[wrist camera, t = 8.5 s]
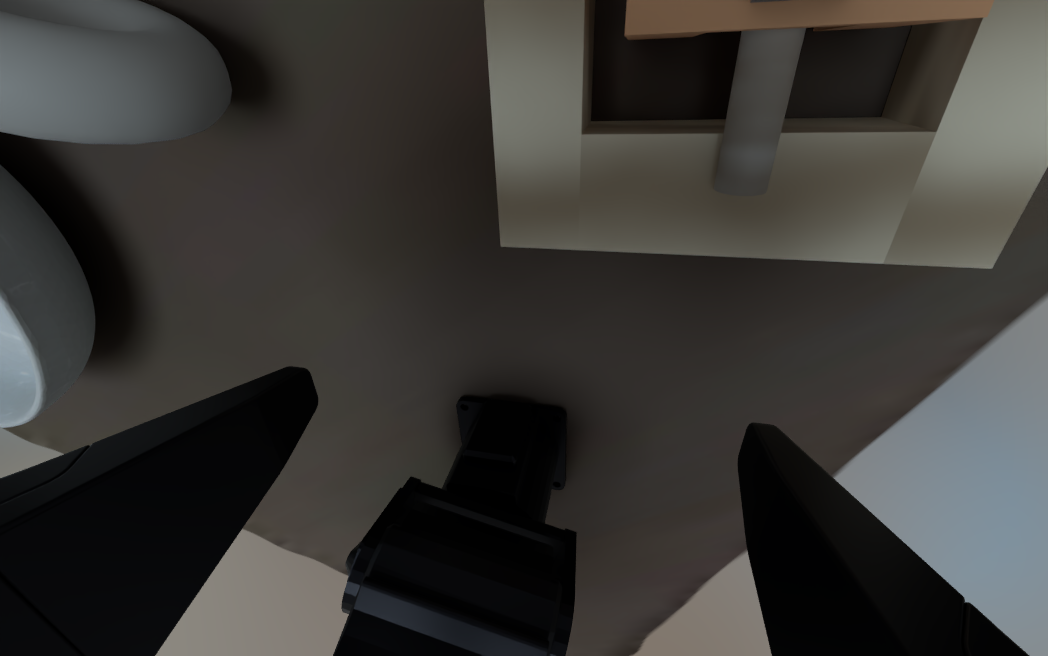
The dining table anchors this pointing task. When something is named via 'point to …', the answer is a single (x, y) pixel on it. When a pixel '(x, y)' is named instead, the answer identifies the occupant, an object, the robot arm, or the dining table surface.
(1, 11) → the donut
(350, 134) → the dining table surface
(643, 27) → the brown u-shaped block
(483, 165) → the dining table surface
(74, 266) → the serving bowl
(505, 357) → the dining table surface
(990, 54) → the grey square tray
